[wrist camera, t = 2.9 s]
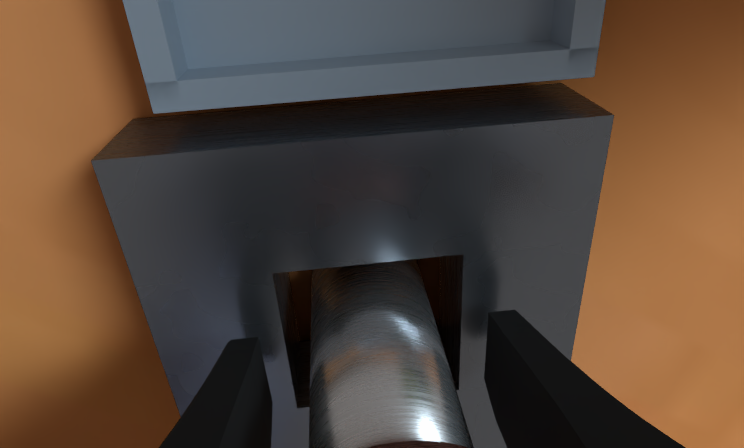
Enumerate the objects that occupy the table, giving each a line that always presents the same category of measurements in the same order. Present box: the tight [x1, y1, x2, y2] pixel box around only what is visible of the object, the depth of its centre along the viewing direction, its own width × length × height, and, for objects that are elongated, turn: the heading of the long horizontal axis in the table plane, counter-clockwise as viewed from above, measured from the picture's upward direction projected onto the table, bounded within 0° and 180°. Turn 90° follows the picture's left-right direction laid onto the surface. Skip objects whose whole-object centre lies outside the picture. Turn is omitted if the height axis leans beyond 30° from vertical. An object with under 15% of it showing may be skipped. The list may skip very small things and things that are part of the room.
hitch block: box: [91, 83, 614, 448], centre depth 13 cm, size 10×10×2 cm
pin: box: [309, 259, 474, 448], centre depth 11 cm, size 4×4×8 cm
